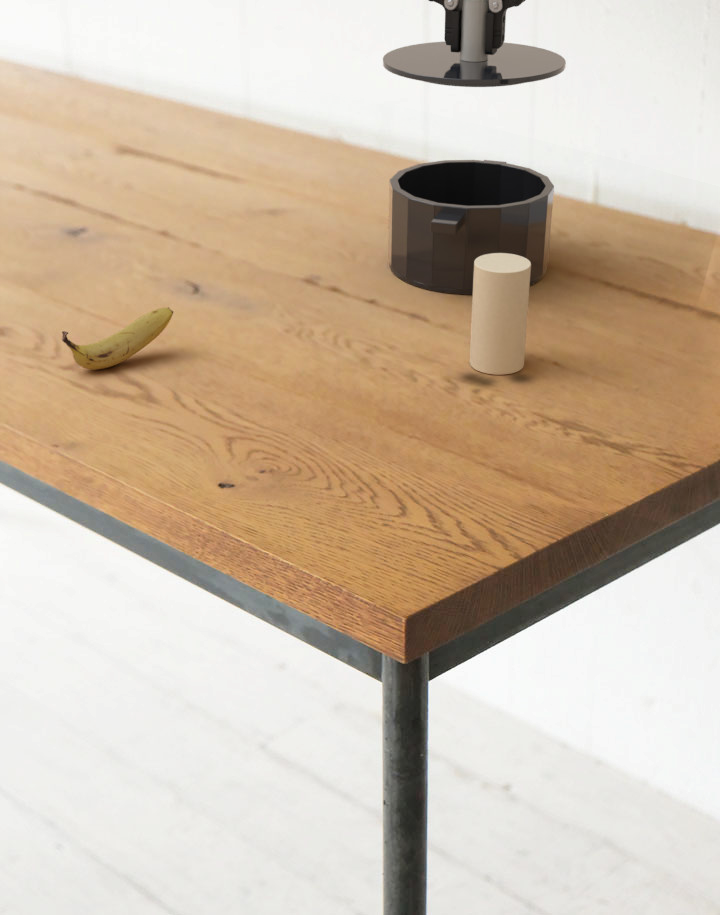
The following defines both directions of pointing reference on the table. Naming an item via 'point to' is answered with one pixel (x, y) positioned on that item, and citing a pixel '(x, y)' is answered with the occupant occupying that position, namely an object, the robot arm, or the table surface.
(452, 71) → the lid
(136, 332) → the banana
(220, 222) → the table surface
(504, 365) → the beige wooden cylinder
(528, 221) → the pot
